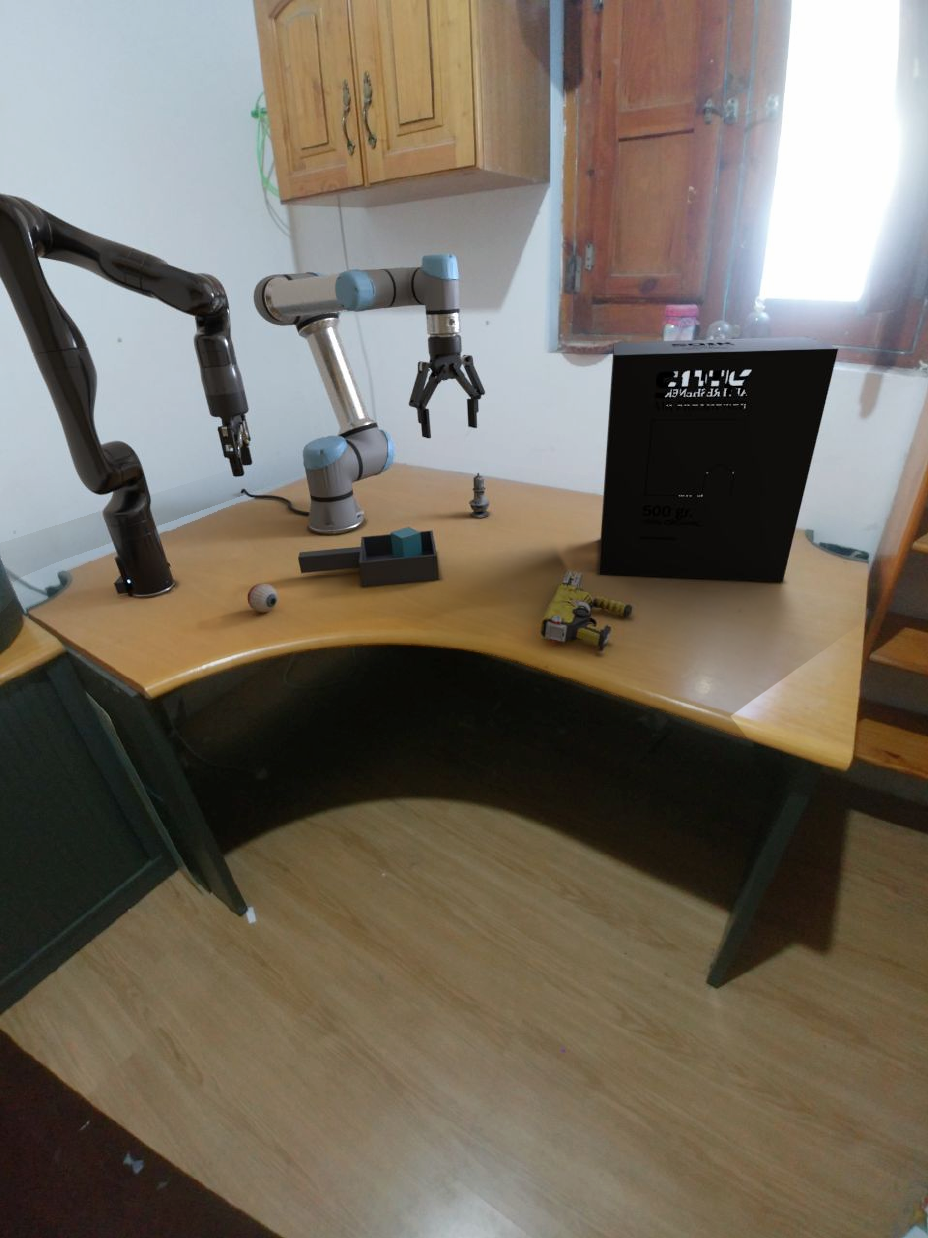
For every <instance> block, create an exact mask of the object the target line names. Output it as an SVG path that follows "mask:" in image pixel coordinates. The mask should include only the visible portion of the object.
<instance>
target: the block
mask: <svg viewBox="0 0 928 1238" xmlns="http://www.w3.org/2000/svg"><path fill="white" fill-rule="evenodd" d="M389 534H391V542H392V550H393V558H404V557H415V556H422V546H421V535H420V531H418V530H416V529H414V528H412V527H410V526H406V527H403V528H400V529H396V530H393V531H391V532H390V533H389Z"/></svg>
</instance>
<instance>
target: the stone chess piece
mask: <svg viewBox="0 0 928 1238" xmlns="http://www.w3.org/2000/svg"><path fill="white" fill-rule="evenodd" d="M472 481H473V488H472V489H471V490H472V491H473V499H471V500H470V501H468V504H469V506H470V509H471V510H472V512H471V513H470V516H471V517H472V518H477V519H478V518H479V519H481V518H486V517H488V516H489V515H490V512H489V511H488V509H489V507H490V503H491V500H489V499H487V498H486V496H485V493H486V491H485V490H486V487H485V479H484V476H483V475H480V472H477V475H475V476H474V477H473V479H472Z"/></svg>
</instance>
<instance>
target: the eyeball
mask: <svg viewBox="0 0 928 1238" xmlns="http://www.w3.org/2000/svg"><path fill="white" fill-rule="evenodd" d="M246 600H247V603H248V605H249V607H250V608H251V609H252V610H254V611H255V612H258V613H268V612H270V611H272V610H273V609H274V608H275V607H276V606H277V603H278V600H279V596H278V593H277V590H276V589H275V588H274V587H273V586H272V585H270V584H267V583H258V584H255V585H253V586H252V587H251V588H250V589H249V591H248V592H247V599H246Z"/></svg>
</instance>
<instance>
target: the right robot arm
mask: <svg viewBox="0 0 928 1238" xmlns="http://www.w3.org/2000/svg"><path fill="white" fill-rule="evenodd" d="M459 280H460V275H459V270H458V260H457V257H456V255H455V254H453V253H440V254H439V253H438V254H427V255H423V256H422V258H421V266H409V267H404V266H403V267H401V266H400V267H392V268H391V267H390V268H373V269H359V268H358V269H348V270H344V271H341V272H337V273H330V274H324V273H321V272H312V271H307V272H302V273H300V272H299V273H298V272H297V273H283V274H281V273H279V274H277V273H276V274H271V275H267V276H265V277H263V278H262V279H260V280H259V281H258V282H257V284H256V285H255V287H254V290H253V303H254V307H255V309H256V312H257V313H258V314H259V315H260V317H261V318H262V319H263V320H265V321H266V322H268V323H269V324H272V325H274V326H275V325H276V326H281V327H282V326H283V327H284V326H295V328H296V331H297V333H298V335H299V337H301V338H303V339H305V341H306V342H307V345H308V347H309V349H310V352H311V355H312V357H313V360H314V363H315V365H316V368H317V370H318V373H319V376H320V378H321V381H322V383H323V386H324V389H325V392H326V394H327V397H328V399H329V402H330V405H331V407H332V411H333V413H334V416H335V418H336V421H337V423H338V426H339V430H338V432H337V434H336V435H328V436H322V437H318V438H316V439H313V440H311V441H309V442H308V443H306V445H304V447H303V450H302V457H303V458H302V460H303V462H302V463H303V467H304V471H305V476H306V481H307V486H308V492H309V498H310V507H309V511H304V510H299V509H296V508H294V507H292V502H291V501H290V500H289V499H288V498H285V497H283V496H278V495H273V494H271V495H270V494H251V493H249V492H248V491H247V490H246V488H241V490H240V494H245V495H246V496H247V497H249V498H252V499H274V500H279V501H283V502H285V503H287V507H288V509H289V510H290V511H291V512H293V513H296V514H299V515H304V516H308V528H309V529H308V530H310V531H311V532H312V533H314V534H317V535H323V536H324V535H325V536H327V535H329V536H331V535H339V534H340V535H341V534H345V533H350V532H353V531H355V530H357V529H359V528H361V527H362V526H363V525H364V523H365V519H364V514H365V510H364V509H362V510H361V508H360V505H359V504H358V501H357V500H356V498H355V495H354V489H353V483H355V482H358V481H362V480H366V479H368V478H371V477H374V476H378V475H380V474H382V473H384V472H387V471H388V470H389V469H391V467H392V465H393V462H394V460H395V455H396V454H395V445H394V441H393V439H392V436H391V435H390V434H389V433H388V432H387V431H386V430H384V429H380V427H379V425H378V422H377V421H376V420H374V419H373V418H371V417H369V414H368V411H367V409H366V406H365V402H364V400H363V398H362V395H361V392H360V389H359V386H358V383H357V381H356V378H355V375H354V373H353V369H352V367H351V365H350V361H349V358H348V355H347V353H346V351H345V347H344V345H343V343H342V339H341V336H340V333H339V331H338V328H339V326H340V323H341V319H340V316H341V314H342V313H346V312H355V313H358V312H365V311H372V310H379V309H380V310H381V309H390V308H401V307H402V308H403V307H411V306H412V307H415V306H424V309H425V322H426V324H425V325H426V334H427V335H429V336H428V338H427V349H428V355H429V361H421V360H420V361H418V362H417V374H416V377H415V381H414V383H413V387H412V391H411V394H410V398H409V401H408V407H411V408H415V410H416V413H417V414H416V415H417V422H418V423H419V424H420V427H421V437H422V438H425V439H429V440H430V439H432V432H431V417H430V408H427V406H428V404H429V402H430V400H431V398H432V397H433V395H434V393H435V391H436V389H437V388H438V386H439V384H441V382H442V381H443V382H444V381H448V380H456V381H457V383H458V385H460V387H461V389H462V390H463V391H464V392H465V393H466V394H467V395H468V397H469V398H466V407H467V408H466V409H467V410H466V411H467V427H468V428H473V429H477V428H478V413H479V411H480V410H479V409H480V408H479V400H481V399H482V396H484V395H486V391H485V388H484V386H483V383H482V381H481V378H480V376H479V374H478V371H477V370H476V367H475V364H474V358H473V355H472V354H471V355H470V354H463V355H462V352H463V349H462V348H463V346H462V336H461V335H460V332H462V329H461V311H460V310H461V309H460V284H459V283H460V281H459ZM462 366H463V368H464V370H465V373H466V375H467V377H468V378H467V377H466V375H465V373H464V372H463V370H462V369H461V368H462ZM430 371H431V372H430ZM429 372H430V374H429ZM428 375H429V376H428ZM427 379H428V381H427Z"/></svg>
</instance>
